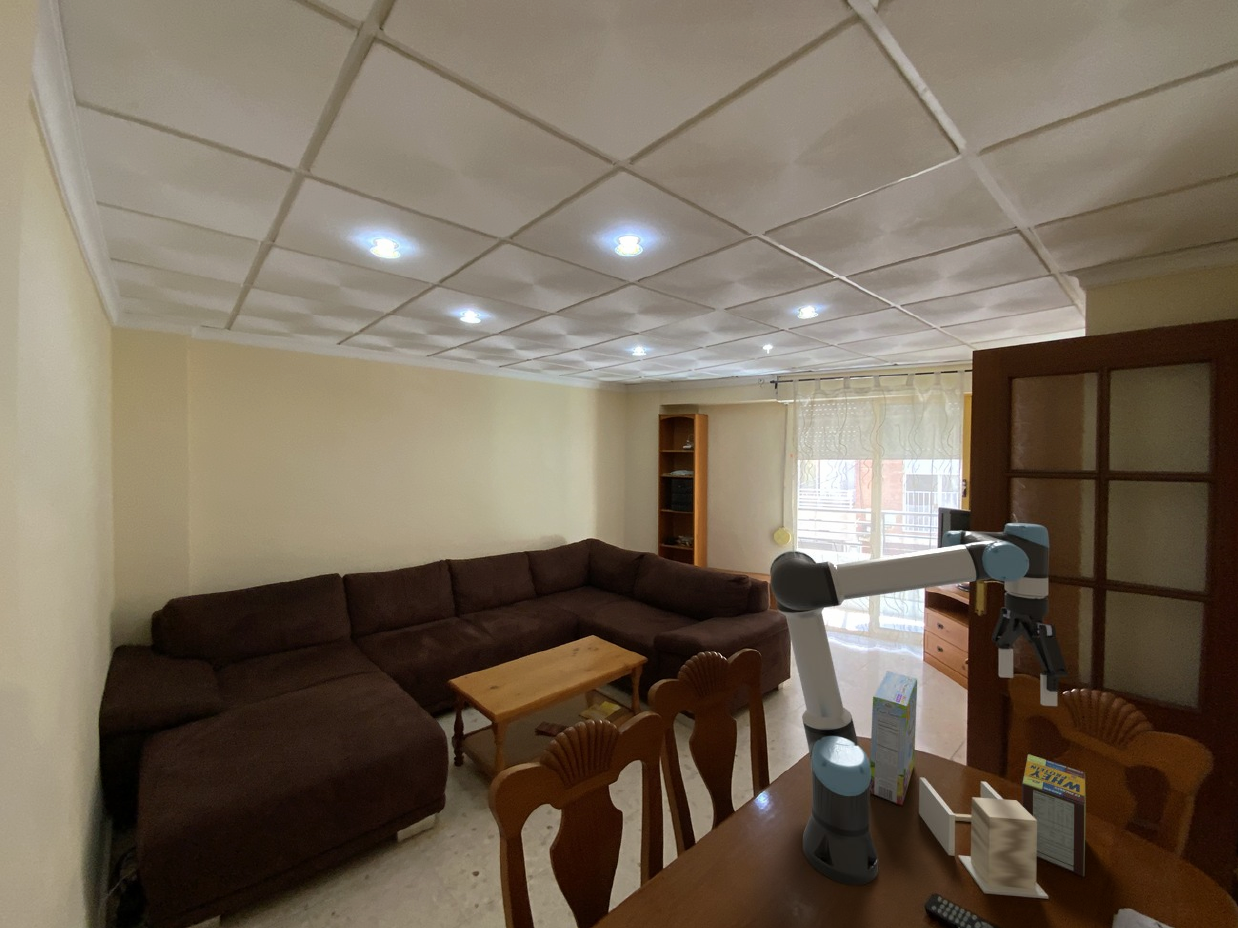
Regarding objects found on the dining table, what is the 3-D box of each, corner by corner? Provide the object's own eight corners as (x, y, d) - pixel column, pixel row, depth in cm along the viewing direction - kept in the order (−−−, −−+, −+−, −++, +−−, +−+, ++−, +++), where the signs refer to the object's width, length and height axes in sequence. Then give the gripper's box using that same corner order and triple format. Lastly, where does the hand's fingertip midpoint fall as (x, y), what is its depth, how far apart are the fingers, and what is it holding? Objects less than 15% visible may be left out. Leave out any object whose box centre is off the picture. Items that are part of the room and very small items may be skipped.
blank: (988, 884, 102) (989, 816, 101) (970, 861, 108) (971, 796, 107) (1035, 889, 101) (1037, 820, 101) (1015, 865, 107) (1016, 800, 107)
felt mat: (984, 892, 100) (984, 890, 100) (958, 857, 109) (958, 855, 109) (1048, 898, 99) (1048, 895, 99) (1016, 862, 108) (1016, 859, 108)
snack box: (906, 808, 125) (907, 706, 124) (867, 794, 130) (869, 696, 130) (917, 766, 142) (918, 676, 142) (883, 755, 147) (884, 668, 147)
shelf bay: (948, 854, 110) (949, 814, 110) (918, 813, 123) (919, 777, 123) (1023, 861, 108) (1024, 819, 108) (985, 818, 121) (985, 781, 121)
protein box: (1084, 837, 115) (1085, 771, 115) (1084, 878, 104) (1085, 804, 104) (1026, 815, 123) (1027, 752, 123) (1020, 850, 111) (1021, 781, 111)
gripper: (1091, 611, 97) (1091, 720, 97) (1007, 581, 122) (1007, 667, 122) (1049, 610, 98) (1049, 717, 98) (974, 580, 123) (974, 666, 123)
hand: (1026, 690), depth 110 cm, fingers open, 13 cm apart
